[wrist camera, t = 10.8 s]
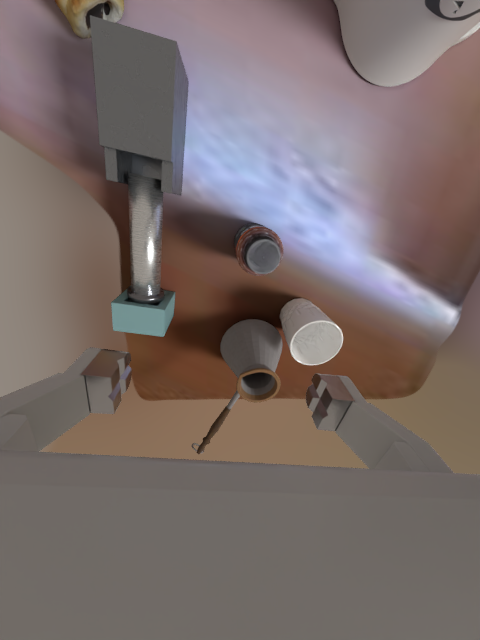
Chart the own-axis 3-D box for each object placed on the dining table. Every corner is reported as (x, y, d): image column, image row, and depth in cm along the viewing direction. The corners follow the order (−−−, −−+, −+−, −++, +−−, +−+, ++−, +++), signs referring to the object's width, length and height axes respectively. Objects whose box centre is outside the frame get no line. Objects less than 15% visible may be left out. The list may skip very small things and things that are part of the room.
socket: (131, 285, 37) (111, 302, 31) (175, 291, 38) (164, 310, 32) (131, 309, 39) (113, 330, 33) (173, 315, 40) (163, 336, 34)
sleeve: (124, 63, 26) (89, 15, 19) (188, 81, 27) (176, 41, 20) (128, 184, 31) (102, 178, 24) (181, 195, 32) (169, 193, 25)
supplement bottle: (261, 267, 37) (275, 290, 27) (228, 253, 36) (229, 273, 26) (277, 231, 35) (298, 242, 25) (242, 215, 34) (249, 221, 24)
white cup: (311, 334, 44) (332, 367, 35) (272, 330, 43) (284, 363, 34) (323, 297, 41) (351, 323, 32) (281, 292, 40) (297, 317, 31)
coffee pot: (246, 300, 40) (257, 349, 27) (291, 334, 44) (320, 391, 31) (180, 375, 47) (163, 443, 34) (224, 398, 51) (224, 467, 37)
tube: (131, 174, 29) (114, 169, 25) (172, 183, 30) (162, 179, 25) (134, 306, 38) (122, 320, 33) (166, 310, 38) (158, 325, 34)
